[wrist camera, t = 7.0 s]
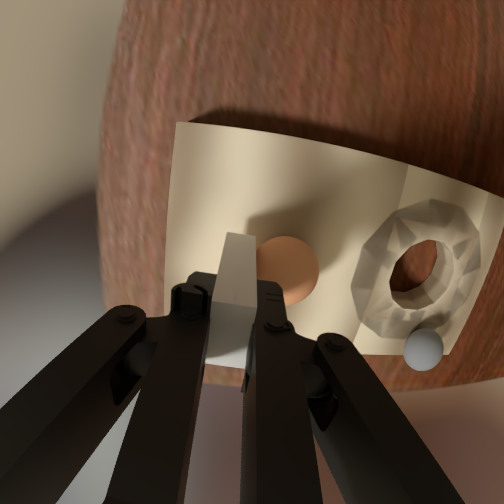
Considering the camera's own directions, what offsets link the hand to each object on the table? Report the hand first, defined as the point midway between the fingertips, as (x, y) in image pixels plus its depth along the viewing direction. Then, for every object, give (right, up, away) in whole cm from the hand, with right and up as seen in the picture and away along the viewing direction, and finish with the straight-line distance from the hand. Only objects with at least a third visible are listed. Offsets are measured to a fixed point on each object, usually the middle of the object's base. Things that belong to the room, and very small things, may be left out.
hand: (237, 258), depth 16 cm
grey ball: (+13, -6, +2) cm, 14 cm away
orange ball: (+2, -1, 0) cm, 2 cm away
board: (+7, 0, +4) cm, 8 cm away
